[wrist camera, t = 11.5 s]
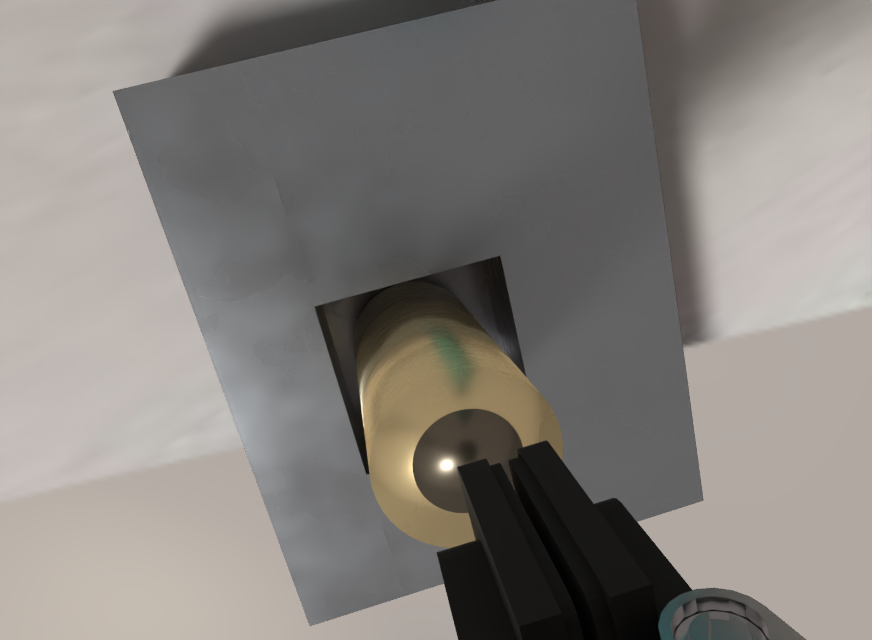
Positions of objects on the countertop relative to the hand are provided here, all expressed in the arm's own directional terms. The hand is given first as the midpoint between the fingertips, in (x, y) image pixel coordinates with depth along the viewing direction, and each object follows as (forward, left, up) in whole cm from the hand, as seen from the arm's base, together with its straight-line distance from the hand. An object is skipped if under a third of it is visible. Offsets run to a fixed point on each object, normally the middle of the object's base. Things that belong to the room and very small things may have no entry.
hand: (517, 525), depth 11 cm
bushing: (0, 0, -11) cm, 11 cm away
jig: (+1, +1, -12) cm, 12 cm away
